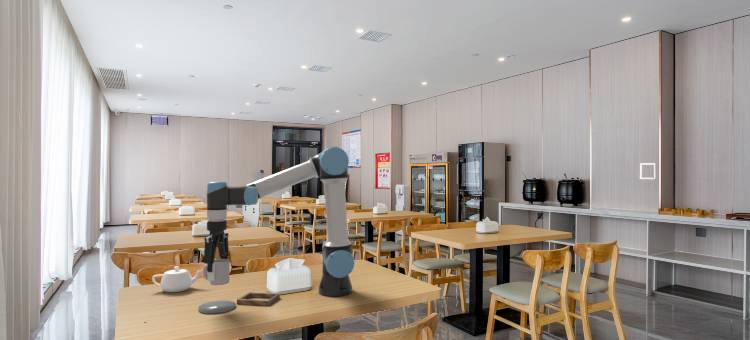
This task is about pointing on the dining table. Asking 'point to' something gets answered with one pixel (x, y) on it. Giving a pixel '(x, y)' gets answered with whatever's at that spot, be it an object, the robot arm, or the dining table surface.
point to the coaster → (216, 307)
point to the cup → (219, 272)
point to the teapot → (176, 280)
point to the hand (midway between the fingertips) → (216, 277)
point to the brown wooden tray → (258, 302)
